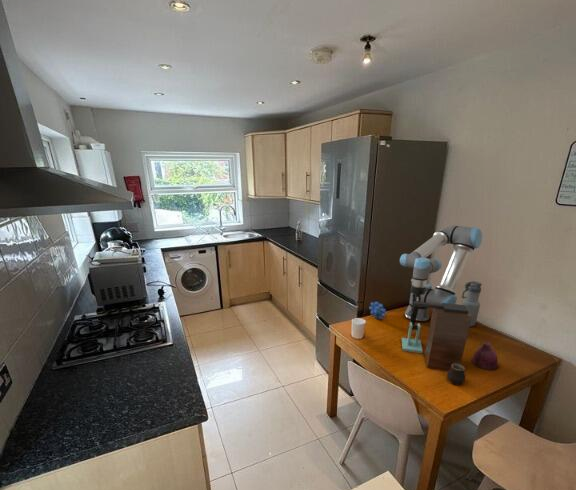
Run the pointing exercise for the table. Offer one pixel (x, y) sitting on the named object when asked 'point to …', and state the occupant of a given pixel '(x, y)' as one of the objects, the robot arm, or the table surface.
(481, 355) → the purple beanie hat
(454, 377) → the mate gourd
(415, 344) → the mounting bracket
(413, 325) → the black knobbed rod
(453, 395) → the table surface
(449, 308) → the spatula
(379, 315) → the grapes
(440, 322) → the shelf block
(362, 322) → the white cup
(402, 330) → the table surface
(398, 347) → the table surface
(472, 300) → the water bottle
